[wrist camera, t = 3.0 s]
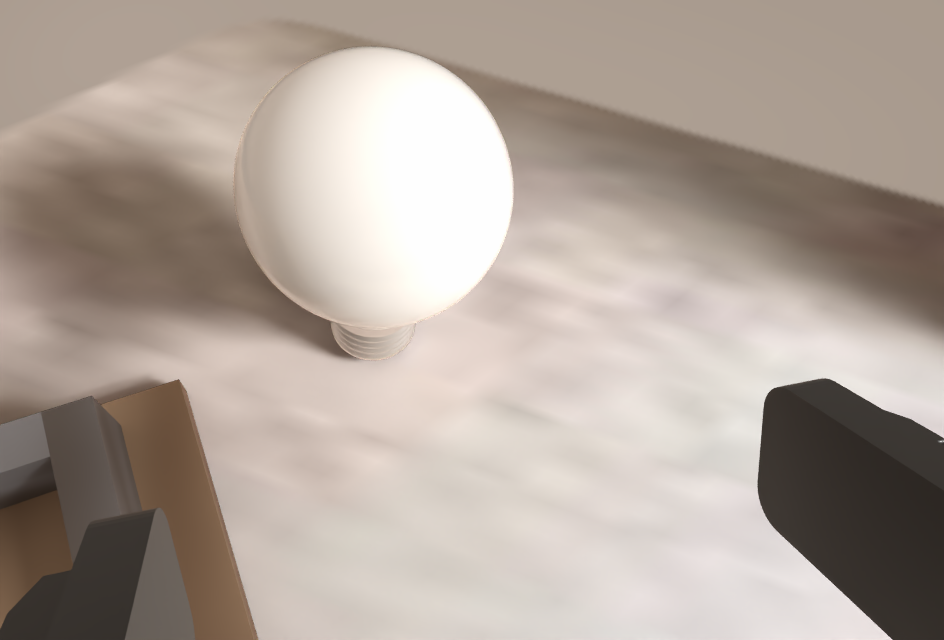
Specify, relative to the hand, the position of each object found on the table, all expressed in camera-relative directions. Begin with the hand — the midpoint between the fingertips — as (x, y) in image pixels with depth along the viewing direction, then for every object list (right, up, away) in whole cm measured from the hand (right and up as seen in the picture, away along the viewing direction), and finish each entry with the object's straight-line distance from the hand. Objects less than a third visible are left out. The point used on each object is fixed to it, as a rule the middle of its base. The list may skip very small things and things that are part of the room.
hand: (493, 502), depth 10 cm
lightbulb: (-4, +2, +15) cm, 15 cm away
